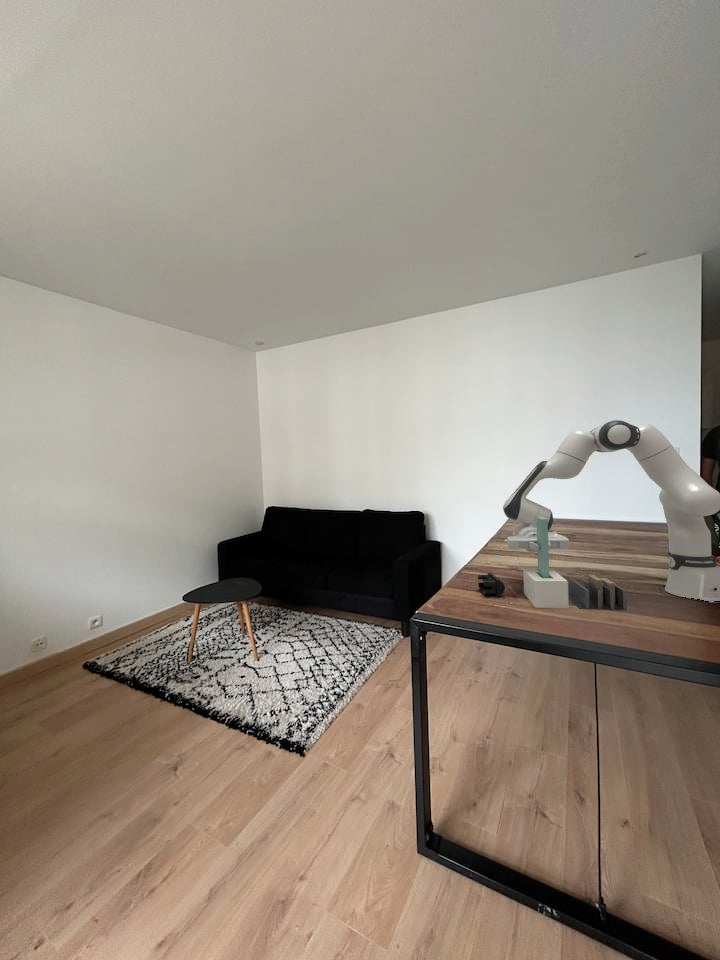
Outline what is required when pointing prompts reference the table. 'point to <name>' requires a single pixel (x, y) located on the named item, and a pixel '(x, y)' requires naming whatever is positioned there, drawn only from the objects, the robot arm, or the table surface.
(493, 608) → the table surface
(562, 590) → the holder
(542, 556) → the tall sheet
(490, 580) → the end cap
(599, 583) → the offcut tall
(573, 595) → the rack
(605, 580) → the offcut small
